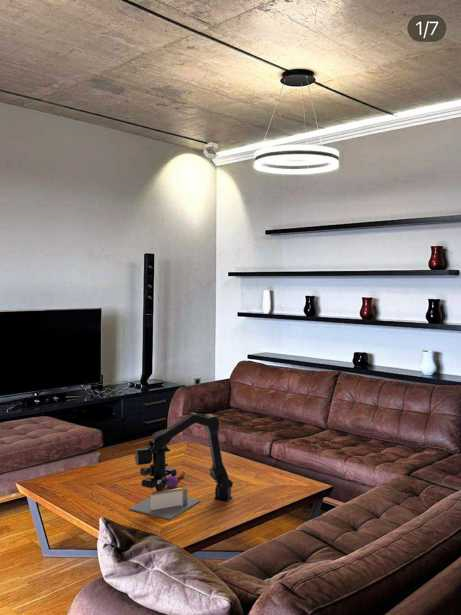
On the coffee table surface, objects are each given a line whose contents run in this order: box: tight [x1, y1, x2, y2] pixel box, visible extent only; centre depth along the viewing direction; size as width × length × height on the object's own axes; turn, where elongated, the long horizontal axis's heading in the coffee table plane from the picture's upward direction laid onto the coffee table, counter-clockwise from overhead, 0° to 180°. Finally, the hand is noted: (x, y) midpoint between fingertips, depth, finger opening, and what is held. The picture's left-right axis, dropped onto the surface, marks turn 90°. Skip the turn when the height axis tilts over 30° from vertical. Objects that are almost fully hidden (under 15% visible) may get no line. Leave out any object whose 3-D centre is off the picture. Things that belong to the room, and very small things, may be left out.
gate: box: [150, 487, 183, 510], centre depth 261 cm, size 14×2×7 cm, turn 116°
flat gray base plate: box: [128, 487, 201, 521], centre depth 265 cm, size 22×24×8 cm
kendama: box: [166, 469, 186, 489], centre depth 295 cm, size 6×6×20 cm
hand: (159, 496), depth 263 cm, fingers closed
